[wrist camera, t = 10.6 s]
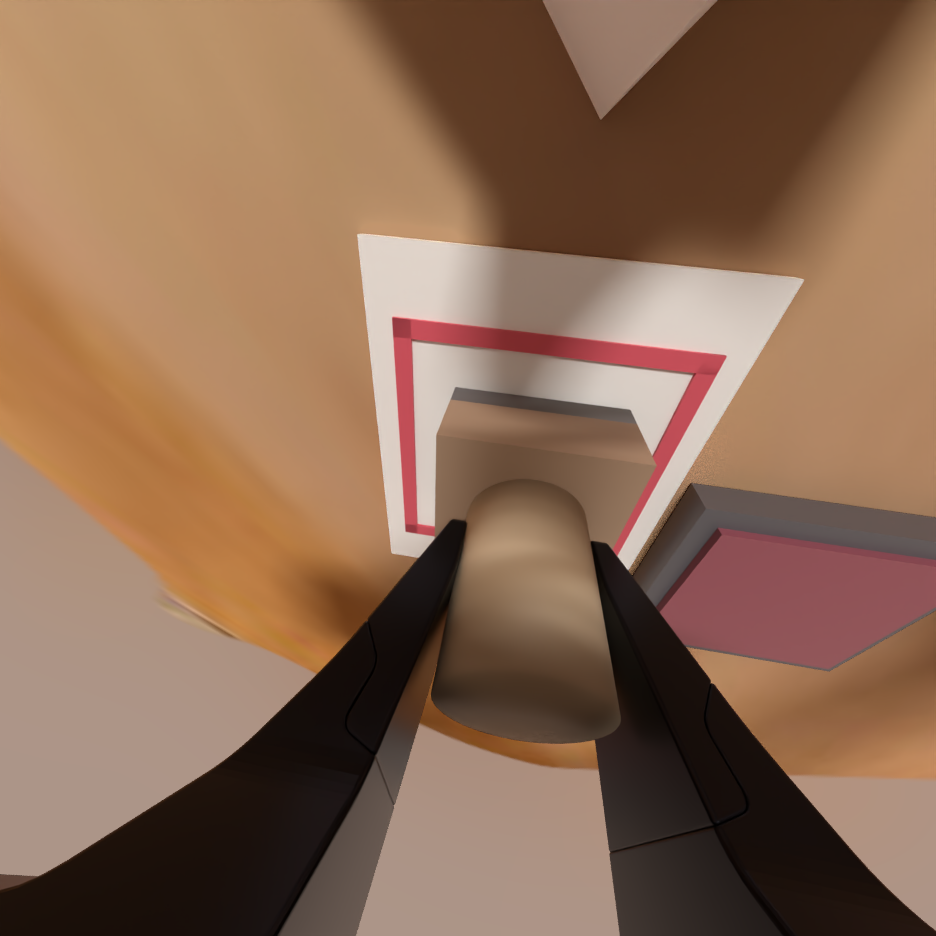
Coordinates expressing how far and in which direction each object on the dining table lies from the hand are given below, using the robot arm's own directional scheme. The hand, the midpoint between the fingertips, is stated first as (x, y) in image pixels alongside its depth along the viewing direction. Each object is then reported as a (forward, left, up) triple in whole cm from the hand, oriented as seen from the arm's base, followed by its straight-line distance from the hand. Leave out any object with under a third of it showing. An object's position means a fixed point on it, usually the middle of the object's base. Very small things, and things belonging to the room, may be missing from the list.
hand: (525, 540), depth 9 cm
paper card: (0, 0, -4) cm, 4 cm away
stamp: (0, 0, -3) cm, 3 cm away
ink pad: (-10, +4, -4) cm, 11 cm away
